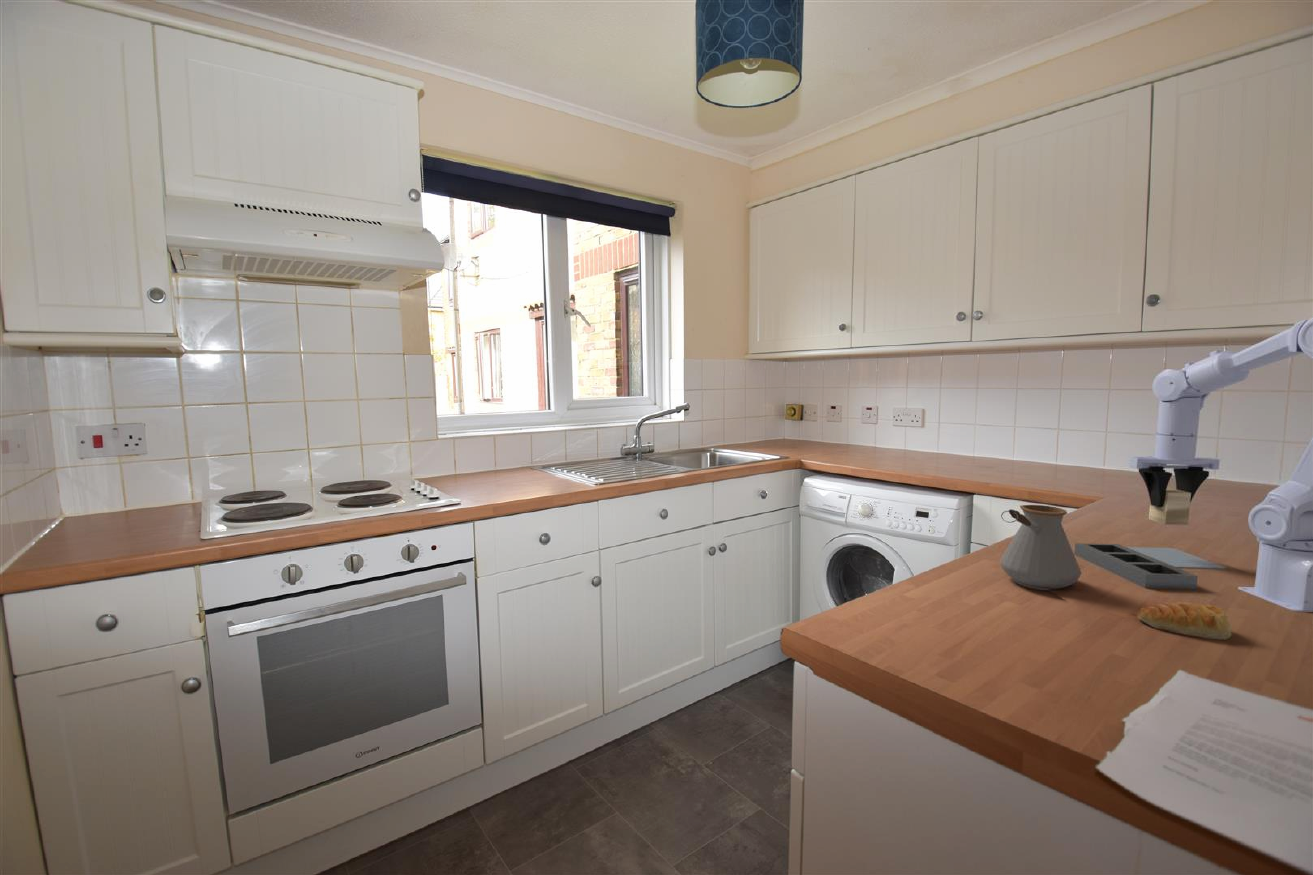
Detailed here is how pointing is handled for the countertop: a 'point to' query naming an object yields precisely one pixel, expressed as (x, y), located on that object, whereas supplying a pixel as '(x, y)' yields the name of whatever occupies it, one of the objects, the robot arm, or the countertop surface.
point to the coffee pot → (1040, 550)
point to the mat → (1177, 558)
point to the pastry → (1188, 619)
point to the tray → (1136, 566)
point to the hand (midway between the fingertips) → (1169, 506)
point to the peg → (1172, 508)
